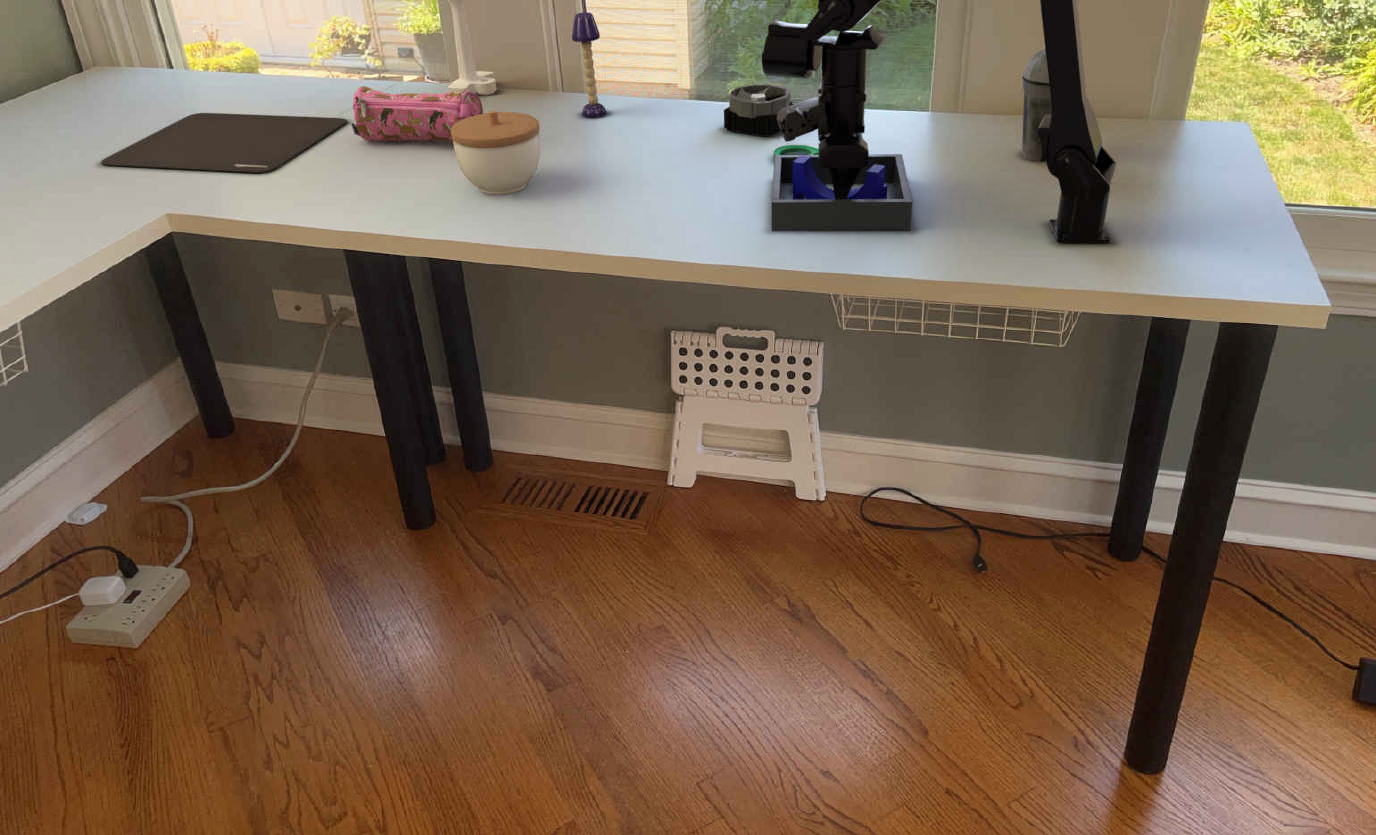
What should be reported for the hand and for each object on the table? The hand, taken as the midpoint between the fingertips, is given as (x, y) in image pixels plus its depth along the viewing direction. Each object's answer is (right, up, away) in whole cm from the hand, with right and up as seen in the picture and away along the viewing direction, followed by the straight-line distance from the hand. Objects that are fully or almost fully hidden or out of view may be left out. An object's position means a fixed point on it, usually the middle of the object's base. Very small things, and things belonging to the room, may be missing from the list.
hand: (839, 196), depth 150 cm
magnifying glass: (0, +8, +15) cm, 17 cm away
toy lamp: (-37, +22, +40) cm, 59 cm away
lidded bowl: (-48, +4, +12) cm, 50 cm away
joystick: (-60, +30, +54) cm, 86 cm away
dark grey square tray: (0, -1, +1) cm, 1 cm away
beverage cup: (+32, +9, +14) cm, 36 cm away
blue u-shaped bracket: (0, -1, +1) cm, 2 cm away
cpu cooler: (-9, +17, +31) cm, 36 cm away
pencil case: (-64, +15, +31) cm, 73 cm away
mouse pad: (-98, +16, +35) cm, 105 cm away
